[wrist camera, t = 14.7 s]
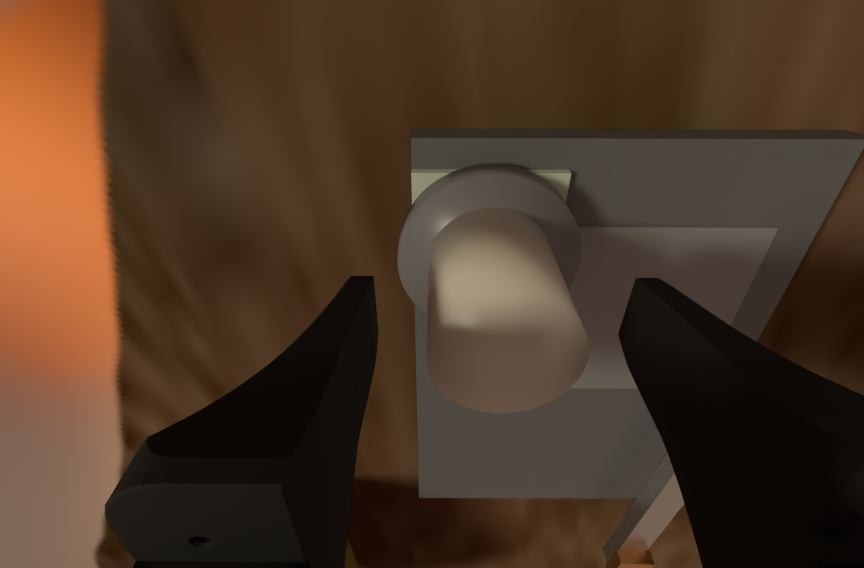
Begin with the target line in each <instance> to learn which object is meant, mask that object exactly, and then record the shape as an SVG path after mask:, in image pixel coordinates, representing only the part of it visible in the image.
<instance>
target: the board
mask: <svg viewBox="0 0 864 568" xmlns="http://www.w3.org/2000/svg"><path fill="white" fill-rule="evenodd" d="M863 149H864V137H861V136H859V135H857V134H854V133H852V132H849V131H840V130H560V129H412V133H411V161H412V169H462V168H465V167H469V166H473V165H480V164H505V165H512V166H516V167H519V168H523V169H526V170H569V171H570V172H571V178H570V183H569V189H568V194H567V199H566V204H567V206H568V208H569V209H570V211H571V213H572V215H573V217H574V218H575V221H576V223H577V226H578V228H579V232H580V236H581V245H582V253H581V261H580V265H579V269H578V272H577V274H576V277H575V279H574V281H573V283H572V285H571V286H570V288H569V289H568V290H569V293H570V295H571V298H572V300H573V302H574V305H575V307H576V310H577V312H578V314H579V317H580V319H581V322H582V324H583V326H584V329H585V331H586V334H587V337H588V341H589V358H588V361H587V365H586V367H585V369H584V371H583V373H582V375H581V376H580V378H579V379H578V380H577V381H576V383H575V384H574V385H573V386H572V387H571V388H570V389H568V390H567V391H566V392H565V393H563V394H562V395H561V396H559V397H558V398H556V399H554V400H552V401H551V402H548V403H546V404H544V405H542V406H539V407H536V408H533V409H529V410H525V411H520V412H514V413H488V412H481V411H476V410H473V409H469V408H466V407H464V406H461V405H459V404H457V403H455V402H454V401H452V400H450V399H449V398H448V397H446V396H445V395H444V394H443V393H442V392H441V391H440V390H439V389H438V388H437V387H436V386H435V384H434V383H433V381H432V379H431V377H430V374H429V371H428V366H427V321H428V315H426V314H425V313H424V312H423V311H422V310H420V309H419V308H418V307H417V306H416V305H415V338H416V382H417V426H418V470H419V498H637V497H638V495H639V494H640V492H641V491H642V489H643V488H644V487H645V485H646V484H647V482H648V481H649V479H650V478H651V476H652V475H653V473H654V472H655V470H656V469H657V468H658V466H659V465H660V463H661V462H662V460H663V459H664V457H665V456H666V454H667V450H666V448H665V445H664V443H663V441H662V438H661V436H660V434H659V432H658V429H657V427H656V425H655V423H654V421H653V419H652V417H651V415H650V413H649V411H648V409H647V406H646V404H645V402H644V400H643V398H642V396H641V394H640V392H639V390H638V388H637V385H636V383H635V381H634V379H633V377H632V375H631V373H630V370H629V368H628V366H627V363H626V360H625V357H624V354H623V350H622V347H621V343H620V340H619V336H618V333H619V330H620V326H621V323H622V320H623V317H624V314H625V310H626V307H627V304H628V301H629V298H630V295H631V291H632V288H633V285H634V282H635V279H636V278H659V279H661V280H663V281H664V282H666V283H668V284H669V285H671V286H672V287H674V288H675V289H677V290H678V291H680V292H681V293H683V294H684V295H686V296H687V297H689V298H690V299H692V300H693V301H695V302H696V303H697V304H699V305H700V306H702V307H703V308H705V309H706V310H708V311H709V312H711V313H712V314H714V315H715V316H717V317H718V318H720V319H721V320H723V321H724V322H726V323H727V324H729V325H730V326H732V327H733V328H735V329H736V330H738V331H740V332H741V333H743V334H744V335H746V336H748V337H749V338H751V339H753V340H754V341H756V342H757V341H758V339H759V337H760V336H761V334H762V332H763V330H764V328H765V326H766V325H767V323H768V321H769V319H770V317H771V316H772V314H773V312H774V310H775V308H776V307H777V305H778V303H779V301H780V299H781V297H782V296H783V294H784V292H785V290H786V288H787V287H788V285H789V283H790V281H791V279H792V278H793V276H794V274H795V272H796V270H797V268H798V267H799V265H800V263H801V261H802V259H803V258H804V256H805V254H806V252H807V250H808V248H809V247H810V245H811V243H812V241H813V239H814V238H815V236H816V234H817V232H818V230H819V229H820V227H821V225H822V223H823V221H824V219H825V218H826V216H827V214H828V212H829V210H830V209H831V207H832V205H833V203H834V201H835V200H836V198H837V196H838V194H839V192H840V190H841V189H842V187H843V185H844V183H845V181H846V180H847V178H848V176H849V174H850V172H851V170H852V169H853V167H854V165H855V163H856V161H857V160H858V158H859V156H860V154H861V152H862V151H863Z"/></svg>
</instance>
